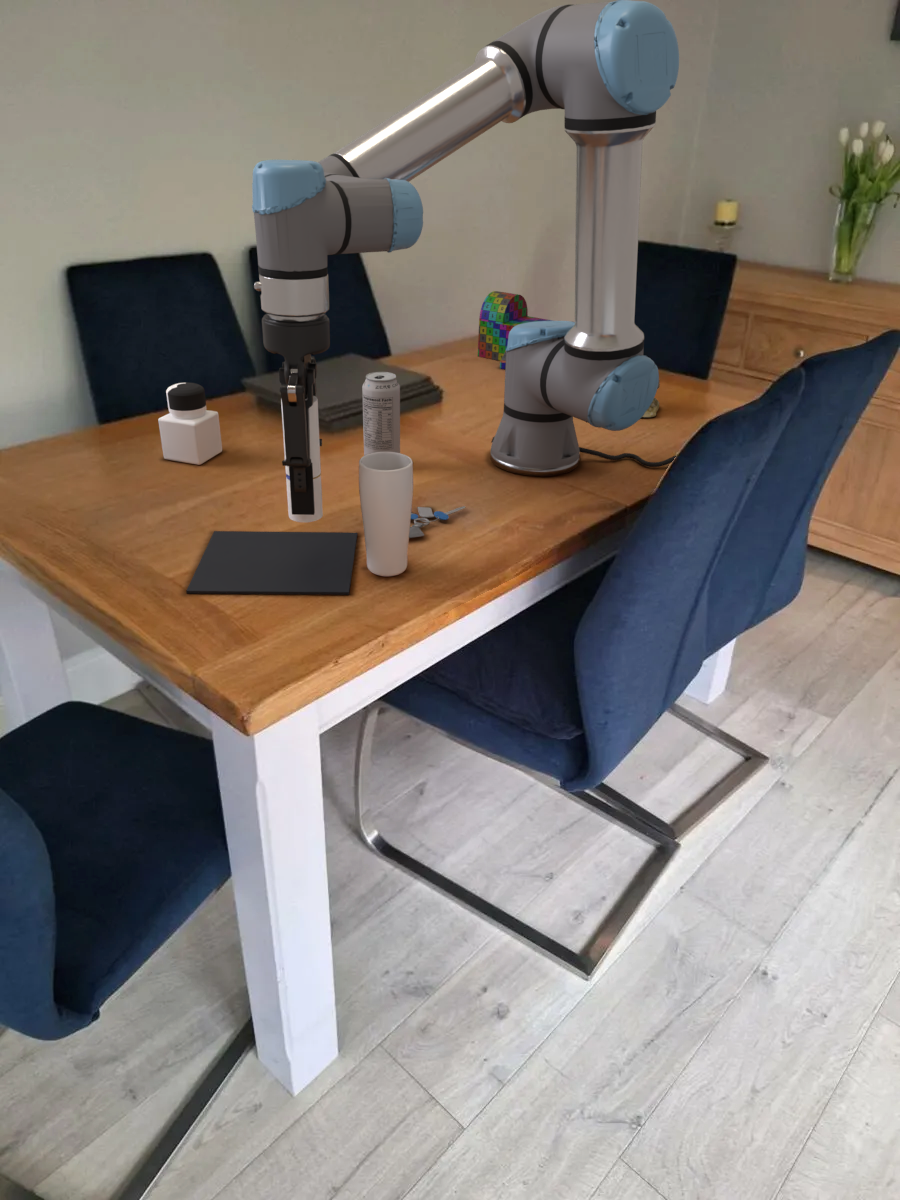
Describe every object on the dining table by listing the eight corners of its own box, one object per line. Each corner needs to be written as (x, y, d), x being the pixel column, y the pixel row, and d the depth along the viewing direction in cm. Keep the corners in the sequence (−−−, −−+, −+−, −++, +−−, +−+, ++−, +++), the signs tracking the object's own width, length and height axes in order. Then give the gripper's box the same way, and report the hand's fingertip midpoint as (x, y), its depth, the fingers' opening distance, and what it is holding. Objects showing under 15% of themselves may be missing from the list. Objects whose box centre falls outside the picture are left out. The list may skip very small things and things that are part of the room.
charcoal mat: (357, 535, 123) (357, 532, 123) (349, 595, 109) (349, 592, 109) (214, 533, 123) (214, 530, 122) (186, 593, 108) (186, 590, 108)
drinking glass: (361, 557, 118) (358, 451, 110) (411, 556, 118) (412, 450, 111) (361, 581, 112) (357, 471, 104) (414, 580, 112) (414, 470, 105)
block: (465, 361, 205) (467, 298, 198) (503, 347, 217) (506, 287, 210) (559, 380, 193) (564, 314, 186) (593, 364, 205) (600, 302, 198)
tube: (326, 509, 112) (321, 394, 105) (318, 523, 109) (312, 405, 101) (293, 507, 113) (286, 392, 105) (284, 521, 109) (276, 403, 101)
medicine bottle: (223, 451, 150) (215, 382, 144) (200, 465, 144) (191, 394, 138) (187, 445, 152) (178, 377, 146) (163, 459, 146) (152, 388, 140)
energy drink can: (406, 462, 148) (406, 374, 141) (389, 473, 143) (388, 383, 136) (375, 455, 150) (373, 368, 143) (357, 467, 146) (355, 377, 138)
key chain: (414, 544, 121) (414, 538, 121) (366, 529, 125) (366, 524, 124) (466, 510, 131) (466, 505, 131) (420, 497, 135) (420, 492, 135)
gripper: (272, 297, 106) (284, 478, 117) (248, 330, 91) (265, 534, 102) (335, 299, 106) (341, 479, 118) (321, 332, 91) (329, 535, 103)
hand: (305, 504), depth 110 cm, fingers closed on tube, 4 cm apart
